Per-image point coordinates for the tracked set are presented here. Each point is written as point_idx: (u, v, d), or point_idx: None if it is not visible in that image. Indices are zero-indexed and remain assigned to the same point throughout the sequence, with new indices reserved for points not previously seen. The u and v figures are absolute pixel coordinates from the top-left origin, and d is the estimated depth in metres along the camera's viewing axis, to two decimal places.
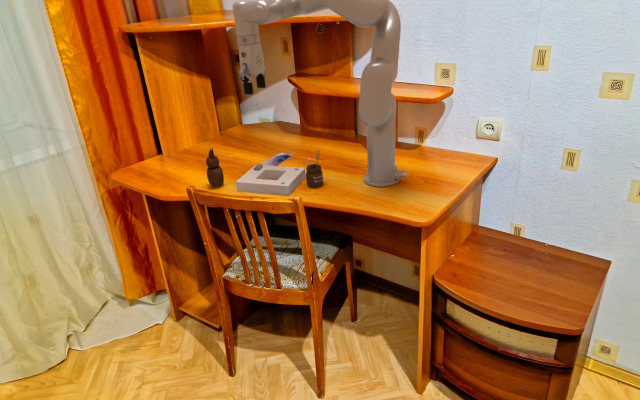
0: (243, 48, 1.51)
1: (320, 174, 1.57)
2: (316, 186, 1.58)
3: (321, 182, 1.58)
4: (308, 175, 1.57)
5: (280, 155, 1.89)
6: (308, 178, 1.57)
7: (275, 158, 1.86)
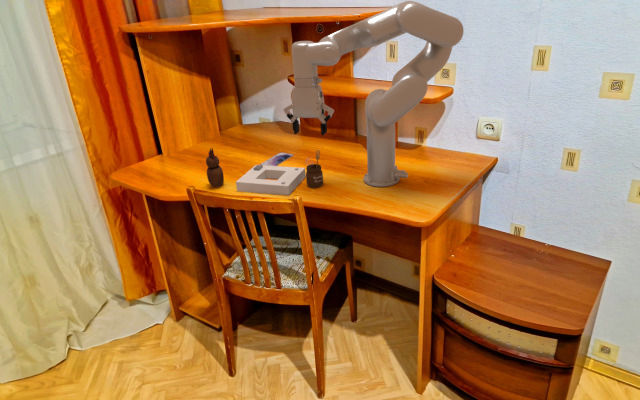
0: (320, 88, 1.44)
1: (320, 174, 1.57)
2: (316, 186, 1.58)
3: (321, 182, 1.58)
4: (308, 175, 1.57)
5: (280, 155, 1.89)
6: (308, 178, 1.57)
7: (275, 158, 1.86)
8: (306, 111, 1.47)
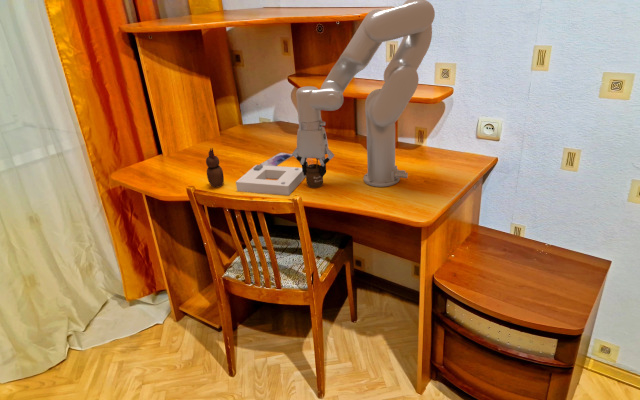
0: (323, 130, 1.51)
1: None
2: (316, 186, 1.58)
3: (321, 182, 1.58)
4: (308, 175, 1.57)
5: (280, 155, 1.89)
6: (308, 178, 1.57)
7: (275, 158, 1.86)
8: (310, 152, 1.53)
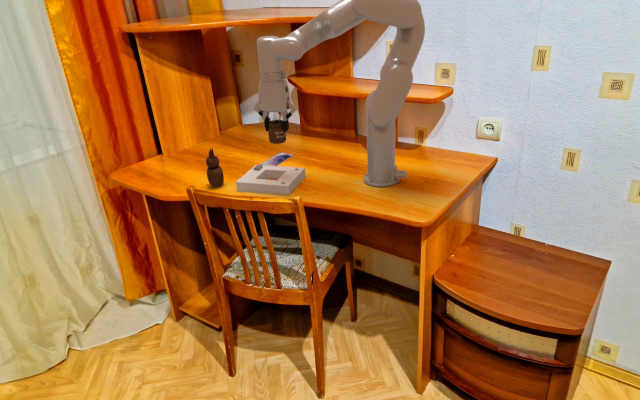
0: (285, 83, 1.46)
1: (282, 129, 1.52)
2: (278, 142, 1.53)
3: (283, 138, 1.54)
4: (270, 130, 1.52)
5: (280, 155, 1.89)
6: (270, 133, 1.53)
7: (275, 158, 1.86)
8: (271, 105, 1.48)
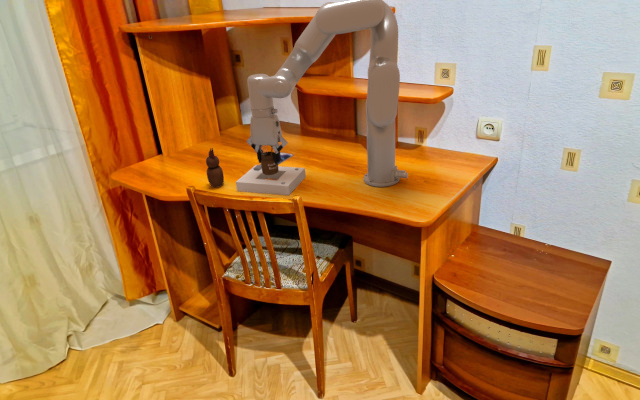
0: (275, 118, 1.52)
1: (274, 161, 1.58)
2: (271, 173, 1.59)
3: (276, 169, 1.60)
4: (262, 162, 1.58)
5: (280, 155, 1.89)
6: (262, 165, 1.59)
7: None
8: (263, 139, 1.55)
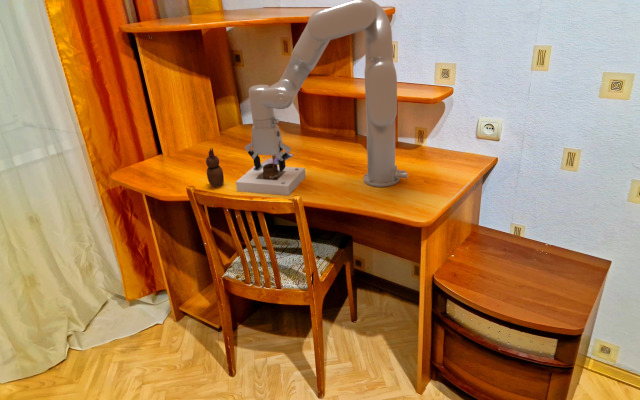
0: (276, 128, 1.54)
1: (276, 173, 1.60)
2: None
3: None
4: (264, 174, 1.60)
5: None
6: (264, 177, 1.61)
7: None
8: (264, 149, 1.56)
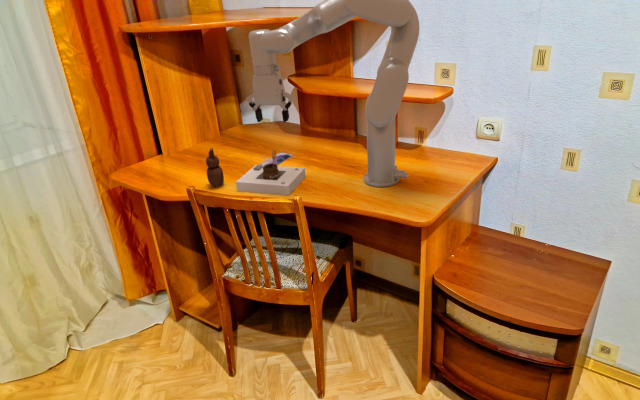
0: (279, 75, 1.47)
1: (276, 173, 1.60)
2: None
3: None
4: (264, 174, 1.60)
5: (280, 155, 1.89)
6: (264, 177, 1.61)
7: None
8: (266, 98, 1.50)
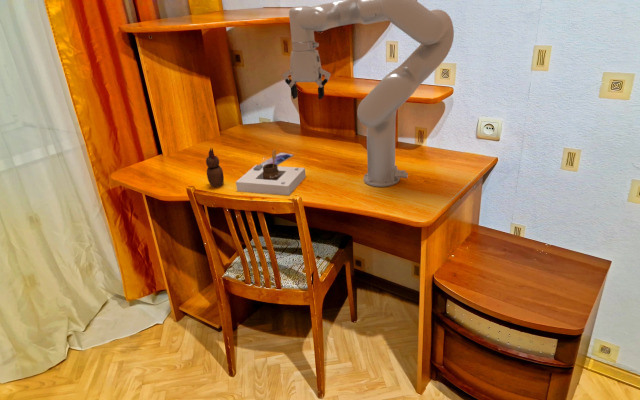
0: (316, 52, 1.50)
1: (276, 173, 1.60)
2: None
3: None
4: (264, 174, 1.60)
5: (280, 155, 1.89)
6: (264, 177, 1.61)
7: None
8: (303, 75, 1.52)
